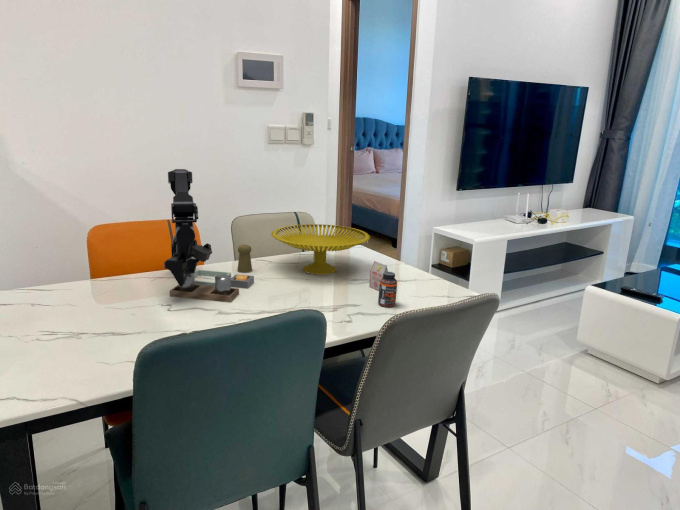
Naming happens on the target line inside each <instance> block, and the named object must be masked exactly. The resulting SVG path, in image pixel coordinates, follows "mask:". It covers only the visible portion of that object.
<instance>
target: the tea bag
mask: <svg viewBox="0 0 680 510" xmlns="http://www.w3.org/2000/svg"><path fill="white" fill-rule="evenodd" d="M384 272H389V270H388V265H387V264H384V263H382V262H379V261H377V260H374V261H373V264H372V267H371V269H370V271H369V285H368V288H370V289H373V290H375V291H377V292H379V284H380V279H381V278H383V273H384Z"/></svg>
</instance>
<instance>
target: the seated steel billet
mask: <svg viewBox="0 0 680 510" xmlns="http://www.w3.org/2000/svg"><path fill="white" fill-rule="evenodd" d="M231 278H232V275H231V276H229V275H218V276H216V277H214V282H215V294H216V295H227V296H230V295H231V288H232V287H231Z"/></svg>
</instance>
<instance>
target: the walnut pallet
mask: <svg viewBox="0 0 680 510" xmlns="http://www.w3.org/2000/svg"><path fill="white" fill-rule="evenodd" d="M239 295H240V288H236V287H231V295H230V296H227V295H216V294H215V286H206V285H195V290H194V291H193V292H185V291H179V284H177V285H176V286H174V287H173V288H171V289H170V290H169V297H173V298H180V299H181V298H182V299H192V300H202V301H211V302H221V303H222V302H225V303H232V302H233V301H234V300H235V299H236V298H237V297H238V296H239Z"/></svg>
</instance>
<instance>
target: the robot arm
mask: <svg viewBox="0 0 680 510" xmlns="http://www.w3.org/2000/svg"><path fill="white" fill-rule="evenodd" d="M167 180H168V181H167V183H168V184H169V185H170V190H171V191H172V193H173V194H174V196H173V197H172V202H173V203H170V210H171V211H170V212H171V223H172V224H174V228H175V229H174V232H175V235H174V236H173V238H172V243H171V244H170V247H171V249H170V251H171V257H170V258H168V259H166V260H165V261H164V262H163V264H164V265H163V267H164V269H166V270H169V271H170V273H171V274H172V276H173V277H174V279H175V281H176V282H177V285H179V286H183V281H184V272H193V273H194V274H195V271H197V266H198V263H199V262H201V263H202V262H203V263H205V262H206V261H208V260H209V259H210V257H211V255H212V254H213V249H212V245H211V244H210V243H205V244H204V245H203V244H198V240H197V239H196V233H195V230H194V224H195V223H197V222H198V220H199V211H198V210H199V209H198V205H197V203H195V202H194V197H193V196H192V195H191V194H189V193H190V191H191V184H193V172H192V171H190V170H188V169H186V168H185V169H184V168H175V169H172V170H171V171H167Z"/></svg>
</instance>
